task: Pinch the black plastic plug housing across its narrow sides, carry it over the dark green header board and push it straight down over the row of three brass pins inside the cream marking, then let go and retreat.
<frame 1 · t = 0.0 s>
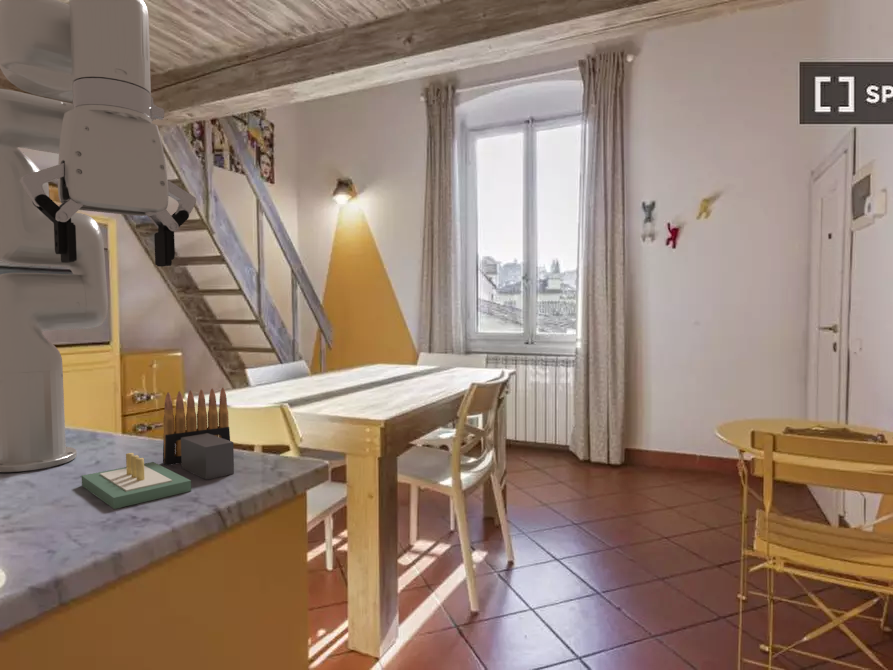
hand: (118, 264, 65), 31 cm above the counter, fingers open, 9 cm apart
plug housing: (207, 470, 93), on the counter
header board: (135, 488, 84), on the counter
ammunition clip: (197, 460, 100), on the counter
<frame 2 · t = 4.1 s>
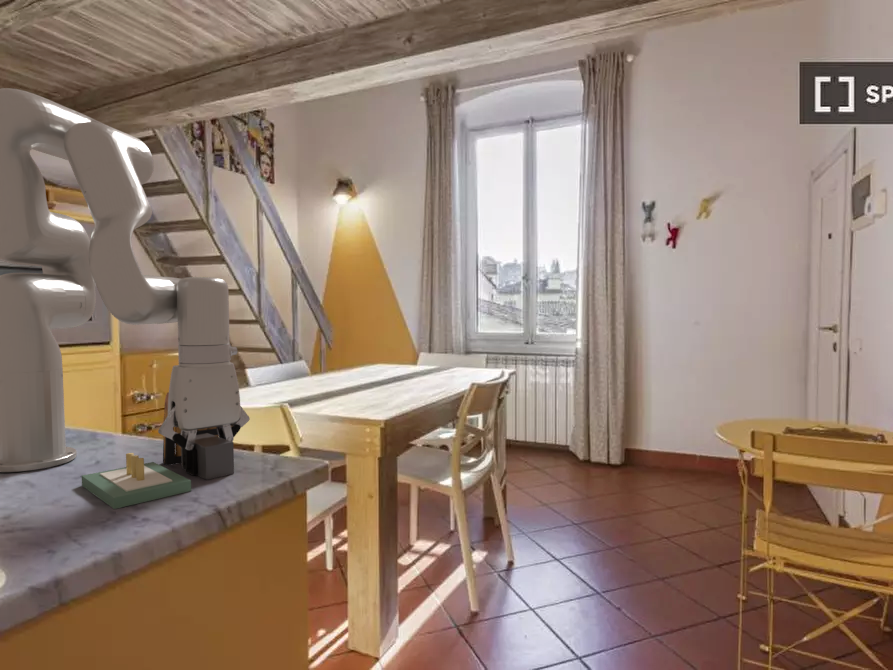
hand: (207, 468, 93), 0 cm above the counter, fingers closed on plug housing, 4 cm apart
plug housing: (207, 470, 93), on the counter, touching gripper
everything else where it was.
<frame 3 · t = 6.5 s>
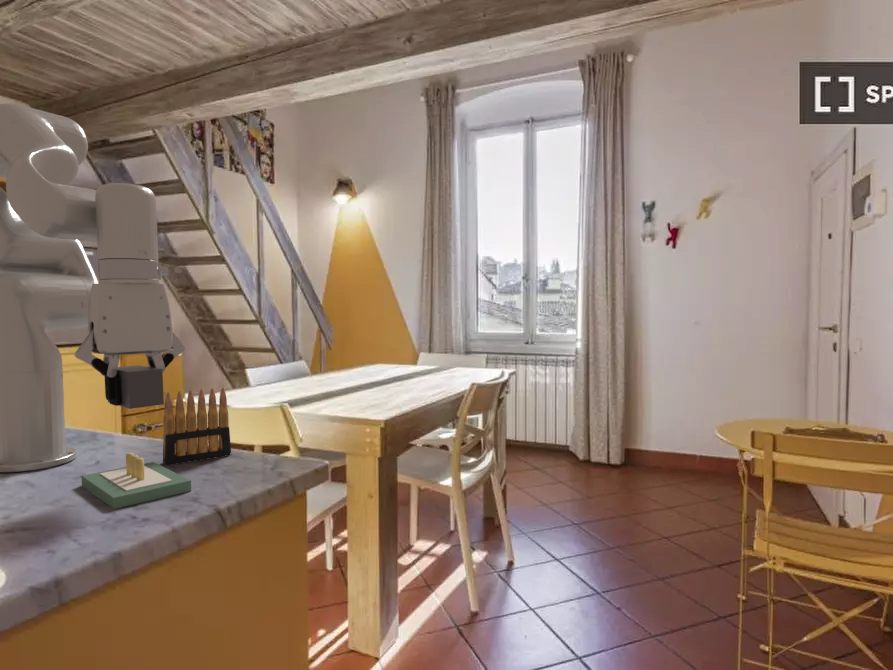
hand: (135, 400, 83), 13 cm above the counter, fingers closed on plug housing, 4 cm apart
plug housing: (135, 403, 83), point 12 cm above the counter, touching gripper
everything else where it was.
when the fingers open (3 cm above the counter, at t = 9.1 s): plug housing stays where it is, resting on header board.
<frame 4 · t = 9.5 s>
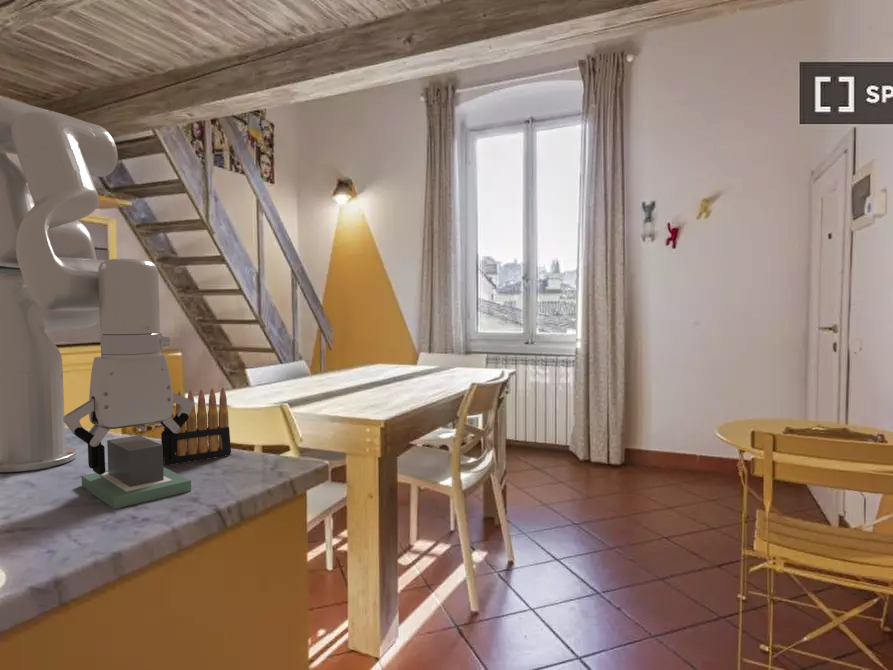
hand: (135, 465, 84), 3 cm above the counter, fingers open, 9 cm apart
plug housing: (135, 476, 84), point 2 cm above the counter, touching header board
everything else where it was.
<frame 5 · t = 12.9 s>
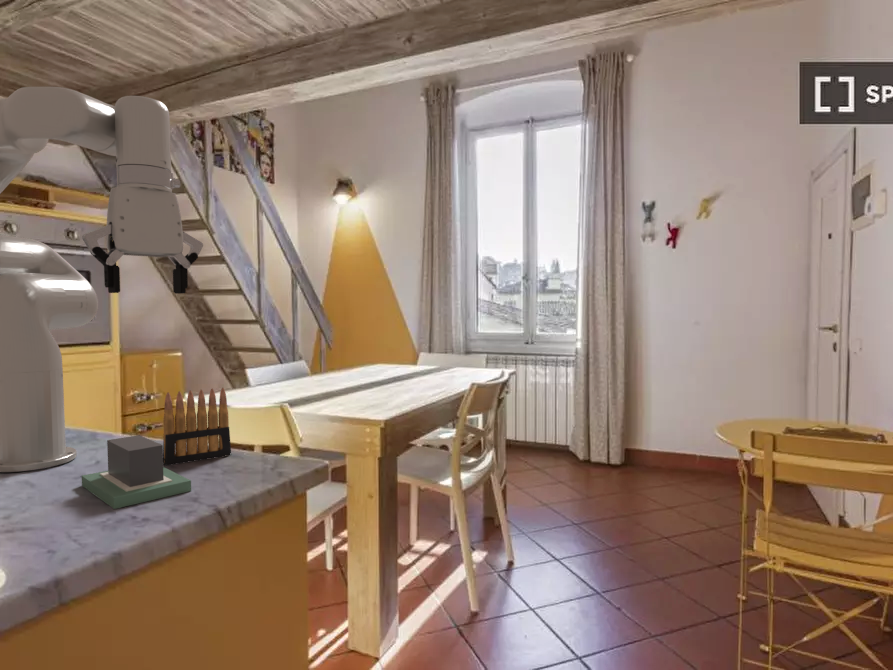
hand: (148, 293, 91), 28 cm above the counter, fingers open, 9 cm apart
nothing on the counter moved.
at the end: plug housing 0.0 cm from the target spot, point 1.7 cm above the counter; plug housing tilted 0°; the gripper is holding nothing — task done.
